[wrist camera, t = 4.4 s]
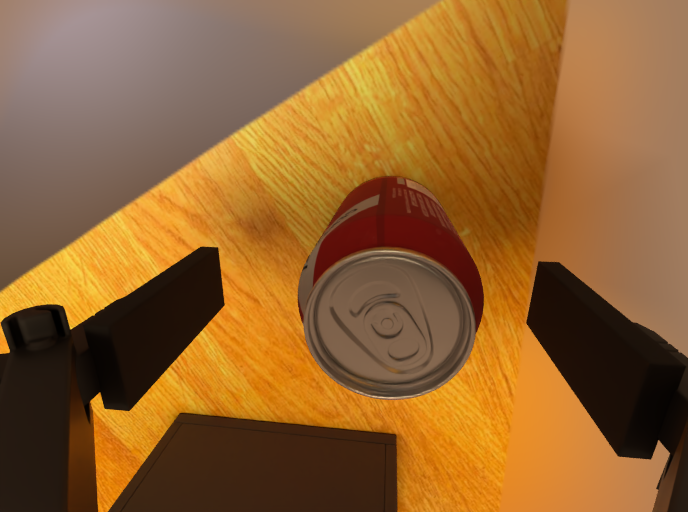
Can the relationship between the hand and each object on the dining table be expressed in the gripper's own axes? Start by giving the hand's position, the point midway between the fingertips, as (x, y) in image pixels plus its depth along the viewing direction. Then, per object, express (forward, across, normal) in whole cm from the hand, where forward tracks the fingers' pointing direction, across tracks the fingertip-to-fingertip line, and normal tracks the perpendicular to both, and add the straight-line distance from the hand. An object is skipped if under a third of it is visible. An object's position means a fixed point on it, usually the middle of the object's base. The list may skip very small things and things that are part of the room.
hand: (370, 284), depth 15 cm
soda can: (+8, +1, 0) cm, 9 cm away
